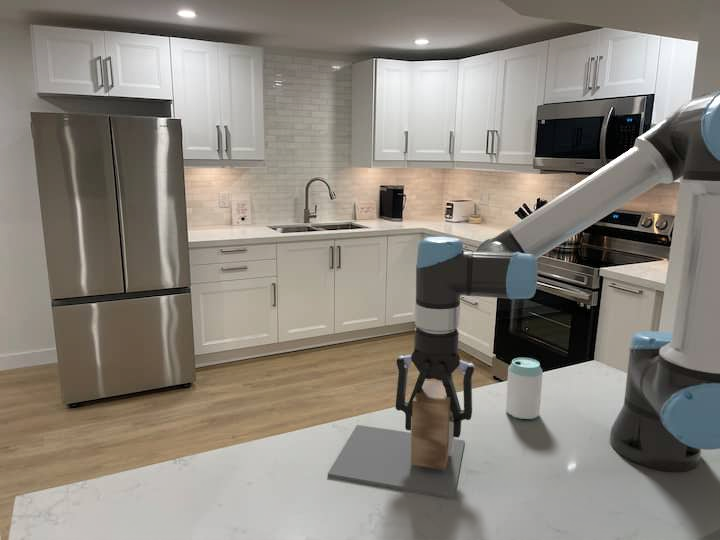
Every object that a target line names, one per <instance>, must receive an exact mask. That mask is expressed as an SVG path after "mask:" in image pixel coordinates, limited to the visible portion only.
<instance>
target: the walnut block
mask: <svg viewBox="0 0 720 540" xmlns="http://www.w3.org/2000/svg"><path fill="white" fill-rule="evenodd" d="M451 415H452V412H451V408H450V397H447V394H446V391H445V387H444V386H443V383H442V381H434V380H425V381H424V383H423V386H422V388H421V391H420V393H416V395H415V397H414V399H413V410H412V444H411V464H412V465H418V466H424V467H430V468H436V469H442V470H445V469H446V465H447V460H448V439H449V421H450V417H451Z"/></svg>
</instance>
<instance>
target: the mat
mask: <svg viewBox="0 0 720 540" xmlns="http://www.w3.org/2000/svg"><path fill="white" fill-rule="evenodd" d="M465 444H466V443H465V440H464V439H456V438H454V449H453V454H452V456H448V460H447V465H446V469H445V470H442V469H436V468H430V467H424V466H418V465H412V464H411V450H410V445H411V431H410V432H409V431H408V432H407V431H403V430H395V429H387V428H382V427H381V428H380V427H374V426H369V425H361V424H356V426H355V427H354V429H353V430H352V433H351V434H350V436H349V438H348V439H347V440H346V443H345V444H344V445H343V447H342V449H341V451H340V452H339V454H338V456H337V457H336V459H335V460H334V461H333V464H332V466H331V467H330V469H329V470H328V472H327V477H328V478H334V479H339V480H345V481H351V482H356V483H361V484H362V483H363V484H368V485H372V486H373V485H374V486H379V487H384V488H389V489H390V488H391V489H396V490H402V491H406V492H412V493H418V494H424V495H430V496H435V497H439V498H440V497H442V498H447V499H452V500H455V497H456V492H457V485H458V481H459V476H460V475H459V474H460V469H461V463H462V459H463V453H464V450H465V449H464V448H465Z"/></svg>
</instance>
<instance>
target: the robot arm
mask: <svg viewBox="0 0 720 540" xmlns="http://www.w3.org/2000/svg"><path fill="white" fill-rule="evenodd" d="M681 178H682V183H683V184H684V185H685V186H686V187H687V188H688V189H689V190H690V191H691V200H690V208H689V214H688V215H689V216H688V222H687V229H686V237H685V244H684V250H683V251H684V252H683V256H682V257H683V259H682V263H681V264H682V266H681V272H680V280H679V286H678V295H677V300H676V307H675V313H674V322H673V329H672V332H668V331H651V330H650V331H647V330H646V331H639V332H636V333H635V334H634V335H633V336H632V338H631V341H630V347H628V351H629V352H628V353H629V355H628V363H627V372H626V373H627V374H626V382H625V389H624V390H625V391H624V399H623V401H624V402H623V405H622V408H621V409H620V411H619V413H618V415H617V417H616V418H615V420H614V422H613V424H612V426H611V429H610V434H609V435H610V436H609V443H610V445H611V446H612V448H613V449H614V450H615V452H617V454H619V455H621V456H622V457H624V458H626V459H628V460H630V461H631V462H633V463H636V464H639V465H641V466H644V467H647V468H651V469H653V470H660V471H667V472H684V471H691V470H693V469H695V468H697V467H698V466H699V464H700V461H701V453H702V450H705V451H707V450H708V451H709V450H710V451H711V450H719V449H720V90H718V91H714V92H708V93H705V94H702V95H698V96H697V97H695V98H692V99H691V100H689V101H687V102H685V103H684V104H682V105H681V106H679V107H678V108H677V109H675V111H672V113H670V114H669V115H667V116H666V117H665V118H663V119H661V120H660V122H658V123H657V124H655V125H653V126H652V127H651V128H650V129H649V130H647V131H646V132H644V133H643V134H641V135H640V136H638V137H636V138H635V141H634V145H633V147H632V148H630V149H629V150H628V151H626V152H624V153H622V154H621V155H620V156H618V157H617V158H615V159H613V160H612V161H610V162H609V163H607V164H606V165H605V166H603V167H601V168H600V169H598V170H597V171H595V172H594V173H592V174H591V175H589V176H587V177H586V178H584V179H583V180H581V181H580V182H578V183H577V184H575V185H573V186H572V187H570V188H568V189H567V190H566V191H564V192H563V193H561V194H560V195H558V196H556V197H555V198H553V199H551V200H550V201H549V202H548V203H546V204H544V205H543V206H540V208H538V209H536V210H535V211H533V212H532V213H530V214H529V215H527V216H526V217H524V218H522V219H521V220H520V221H518V222H516V223H515V224H513V225H512V226H510V227H509V228H508V229H505V231H502V232H501V233H499V234H498V235H497V236H496V235H495V236H494V237H489V238H487V239H485V240H484V241H482V242H481V243H480V244H479V246H478V247H477V249H476V251H473V250H465V249H464V245H463V244H464V243H463V241H462V239H459V238H456V237H448V236H430V237H429V236H428V237H425V238H424V237H423V239H421V240H420V241H419V242H418V245H417V255H416V265H415V267H416V270H415V271H416V272H415V274H416V275H415V276H416V277H415V306H414V307H415V309H414V310H415V311H414V316H415V317H414V324H415V326H416V327H414V343H413V344H414V345H413V346H414V348H413V351H412V354H407V355H405V354H404V353H401V354H399V355H398V356H397V359H396V366H397V370H398V377H397V386H396V387H397V389H396V396H395V397H396V398H395V409H396V411H401V412H404V414H405V421H404V423H405V430H406V431H410V433H411V444H412V410H413V399H414V397H415V395H416V393H420V391H421V388H422V386H423V383H424V381H426V380H433V379H435V380H437V381H439V382H442V383H443V386H444V387H445V391H446V394H447V397H450V408H451V412H452V415H451V417H450V421H449V439H448V456H452V454H453V449H454V439H455V438H460V436H461V433H462V431H461V430H462V421H464V420H466V421H470V420H471V419H472V414H473V383H472V381H473V380H472V379H473V378H472V377H473V375H474V372H475V366H476V364H475V362H474V361H469V362H467V361H465V360H462V359H461V357H460V355H459V336H460V335H459V329H458V328H459V326H460V314H461V312H460V311H461V310H460V309H461V296H466V297H483V298H495V299H510V300H521V299H522V300H523V299H531V298H533V297H534V296H535V294H536V291H537V285H538V276H539V275H538V273H539V271H538V260H537V259H539V258H540V257H542V256H544V255H545V254H547V253H548V252H550V251H552V250H553V249H555V248H557V247H558V246H560V245H561V244H563V243H565V242H566V241H568V240H570V239H571V238H573V237H574V236H575V235H578V234H579V233H581V232H582V231H584V230H586V229H587V228H589V227H592V225H594V224H596V223H597V222H598V221H600V220H602V219H604V218H605V217H607V216H608V215H610V214H612V213H613V212H615V211H616V210H619V209H620V208H621V207H623V206H625V205H626V204H628V203H629V202H631V201H633V200H634V199H636V198H637V197H639V196H641V195H643V194H644V193H646V192H648V191H649V190H650V189H653V188H654V187H655V186H658V184H667V185H670V184H672V183H674V182H675V181H676V180H678V179H681ZM411 363H413V365H414V366H415V367H416V369H417V371H418V372H419V374H418V377H417V378H416V379H417V380H416V382H415V385H414V387H413V389H412V392H411V394H410V398H409V399H408V400H409V401H408V402H407V401H406V394H407V393H406V392H407V385H408V384H407V383H408V374H409V373H408V371H409V368H410V366H411ZM457 368H459V369H460V374H461V375H462V376H463V379H462V381H463V382H462V383H463V385H462V386H463V409H462V408H461V405H460V401H459V398H458V394H457V391H456V387H455V384H454V381H453V375H452V374H453V373H454V372H455V370H456V369H457ZM410 450H411V445H410Z"/></svg>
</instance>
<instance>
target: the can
mask: <svg viewBox="0 0 720 540" xmlns="http://www.w3.org/2000/svg"><path fill="white" fill-rule="evenodd" d="M543 373H544V372H543V369H542V367H541V364H540V361H538V360H536V359H535V358H534V359H533V358H529V357H516V358H514V359H512V360H511V363H510V365H509V366H508V368H507V384H506V400H505V401H506V402H505V411H506V412H507V413H508V414H509V415H510V416H511V415H512V416H511V417H513V418H515V417H516V418H515V419H517V418H519V419H518V420H521V419H530V420H533V419H535V418H537V417H539V415H540V412H541V411H540V410H541V401H542V399H541V396H542V386H543V384H542V383H543V375H544V374H543Z"/></svg>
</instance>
